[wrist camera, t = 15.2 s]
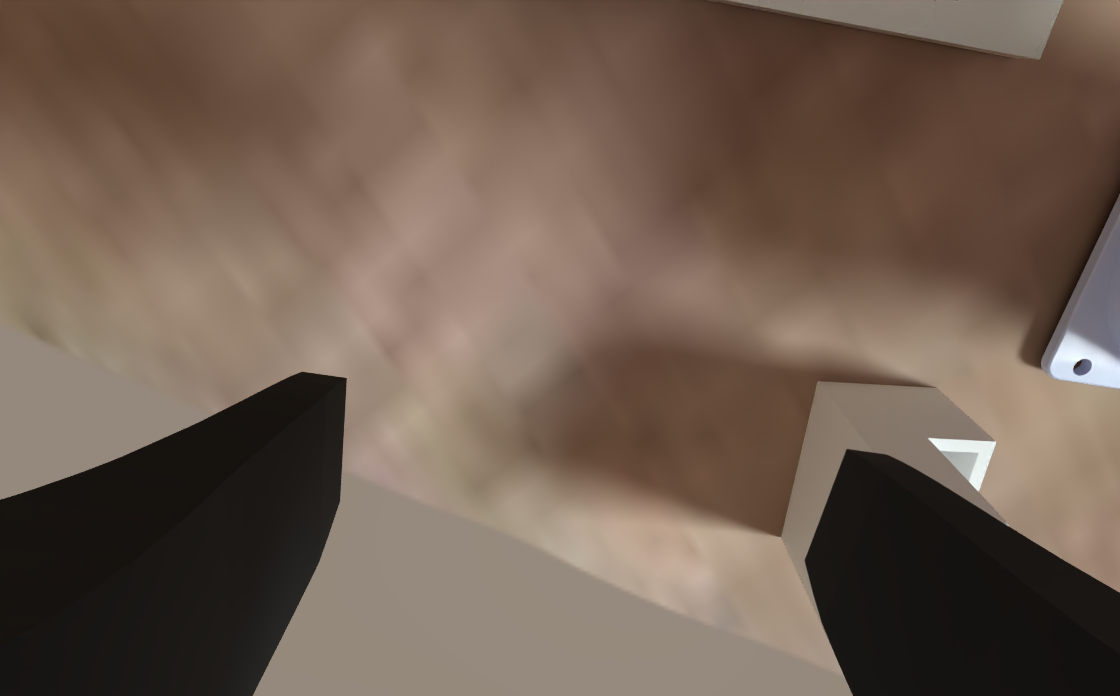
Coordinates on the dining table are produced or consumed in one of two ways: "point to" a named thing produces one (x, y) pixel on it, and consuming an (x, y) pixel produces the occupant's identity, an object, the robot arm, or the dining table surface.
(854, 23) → the panel
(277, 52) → the dining table surface
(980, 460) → the white angled block
